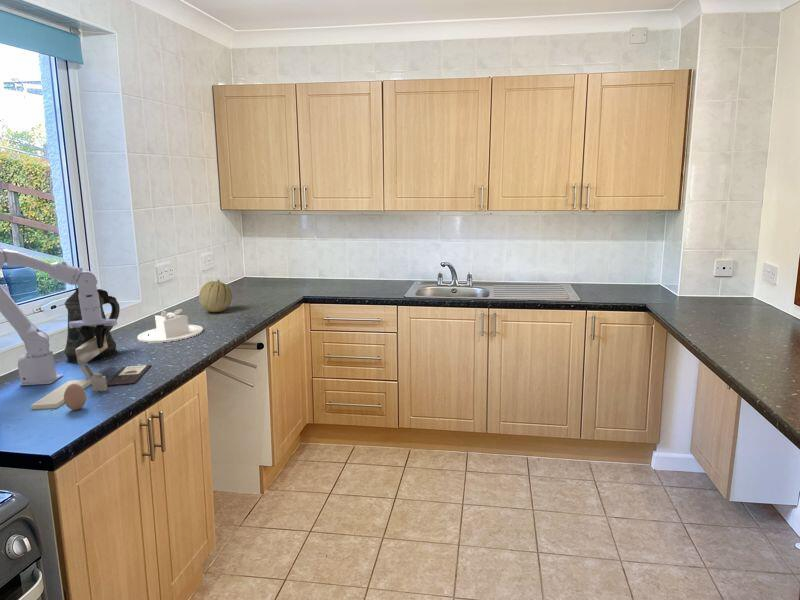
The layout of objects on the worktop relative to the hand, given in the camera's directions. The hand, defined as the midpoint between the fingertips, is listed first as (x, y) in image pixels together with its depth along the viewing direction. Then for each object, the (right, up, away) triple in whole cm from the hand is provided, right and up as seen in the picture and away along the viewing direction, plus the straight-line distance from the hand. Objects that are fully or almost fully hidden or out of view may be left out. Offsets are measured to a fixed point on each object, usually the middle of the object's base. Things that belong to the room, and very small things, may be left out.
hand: (96, 347), depth 191 cm
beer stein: (-11, -4, +20) cm, 23 cm away
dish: (+7, +1, +44) cm, 45 cm away
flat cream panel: (+1, -12, -21) cm, 24 cm away
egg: (+12, -14, -32) cm, 37 cm away
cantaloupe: (+14, +10, +82) cm, 84 cm away
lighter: (+9, -11, -18) cm, 23 cm away
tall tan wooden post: (0, -2, -2) cm, 3 cm away
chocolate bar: (+13, -9, -6) cm, 17 cm away
